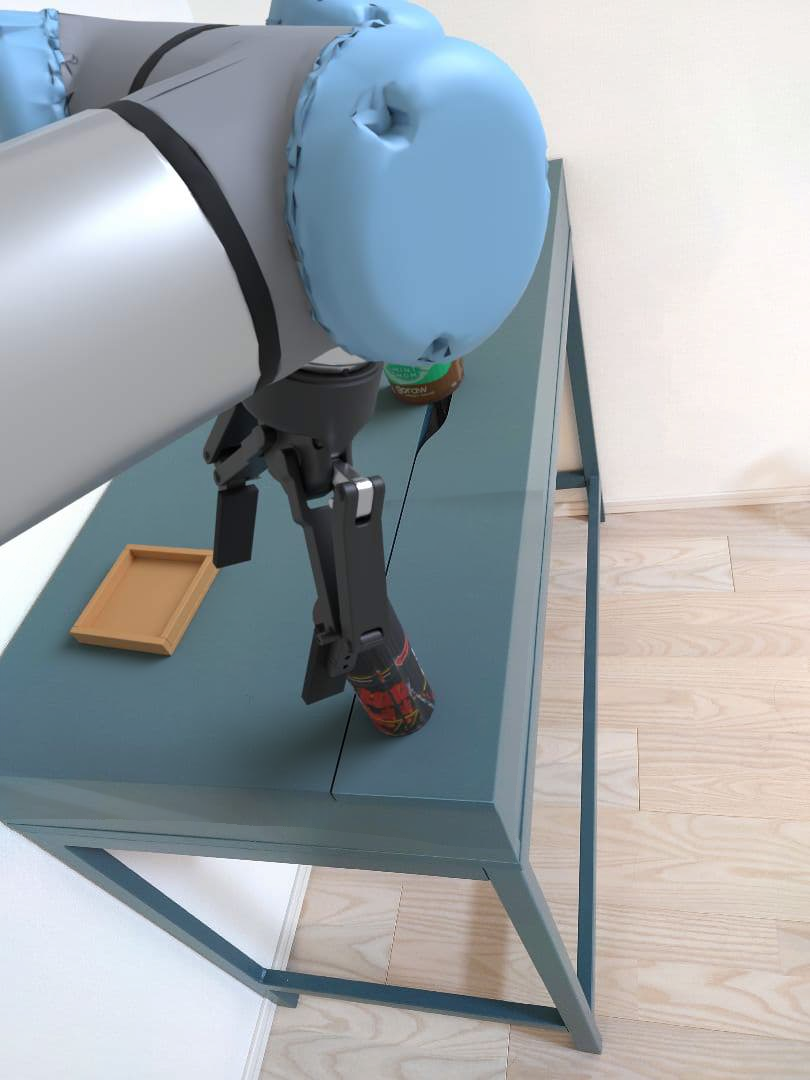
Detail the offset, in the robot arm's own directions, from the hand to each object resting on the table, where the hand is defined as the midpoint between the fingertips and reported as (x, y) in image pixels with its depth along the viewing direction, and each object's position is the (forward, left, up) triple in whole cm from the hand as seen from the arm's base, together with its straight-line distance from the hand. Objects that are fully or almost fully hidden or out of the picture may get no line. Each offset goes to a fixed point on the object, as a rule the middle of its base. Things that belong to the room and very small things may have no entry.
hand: (273, 623), depth 55 cm
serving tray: (+13, +31, -20) cm, 39 cm away
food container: (+48, +9, -20) cm, 53 cm away
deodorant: (+5, -2, -20) cm, 21 cm away
